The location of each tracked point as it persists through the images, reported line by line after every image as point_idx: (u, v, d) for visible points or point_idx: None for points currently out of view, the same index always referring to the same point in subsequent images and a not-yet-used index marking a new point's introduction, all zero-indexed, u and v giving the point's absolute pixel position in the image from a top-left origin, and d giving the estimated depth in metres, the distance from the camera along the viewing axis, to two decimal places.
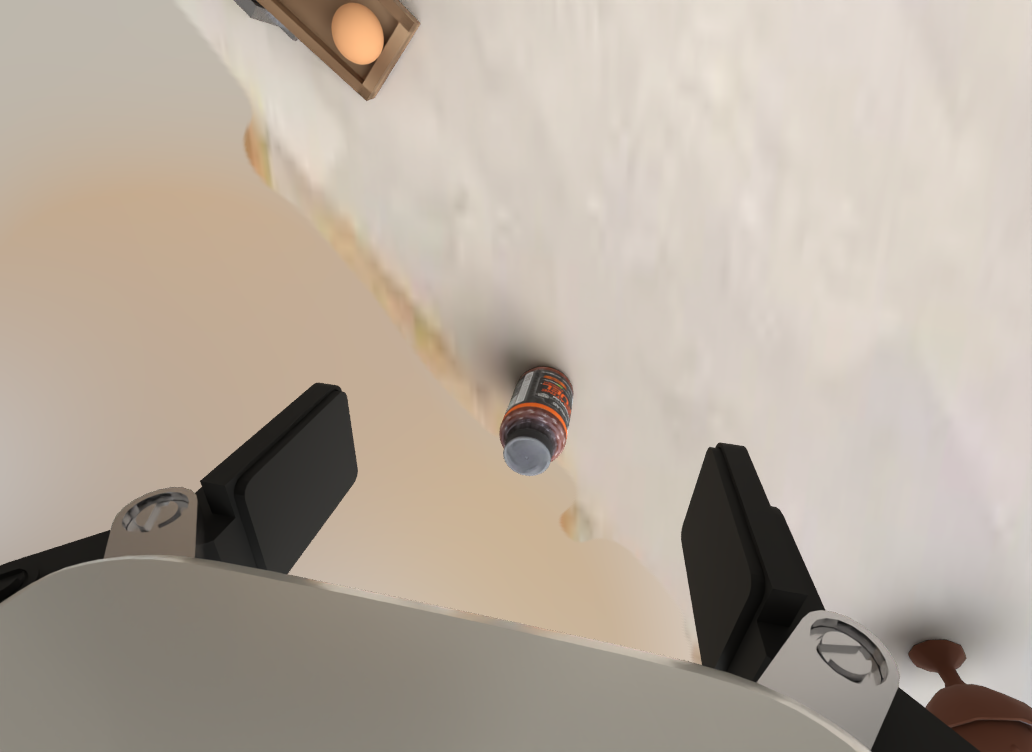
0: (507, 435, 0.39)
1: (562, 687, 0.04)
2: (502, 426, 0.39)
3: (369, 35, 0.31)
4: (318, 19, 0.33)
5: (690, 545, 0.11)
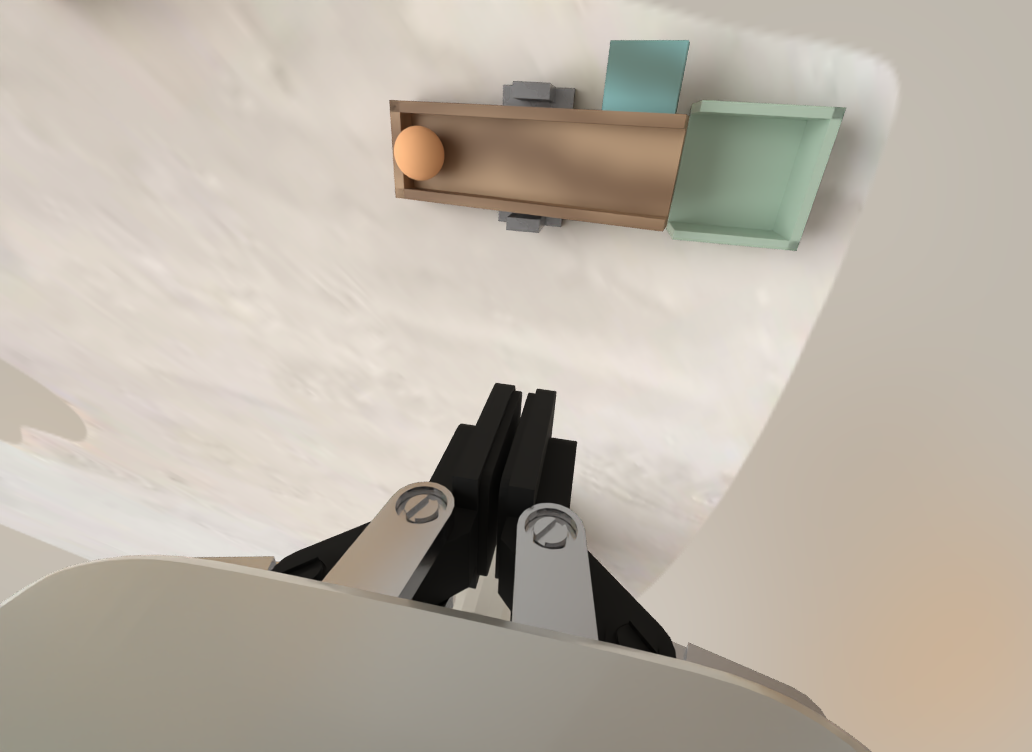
0: None
1: (562, 687, 0.04)
2: None
3: (398, 164, 0.32)
4: (468, 132, 0.32)
5: None
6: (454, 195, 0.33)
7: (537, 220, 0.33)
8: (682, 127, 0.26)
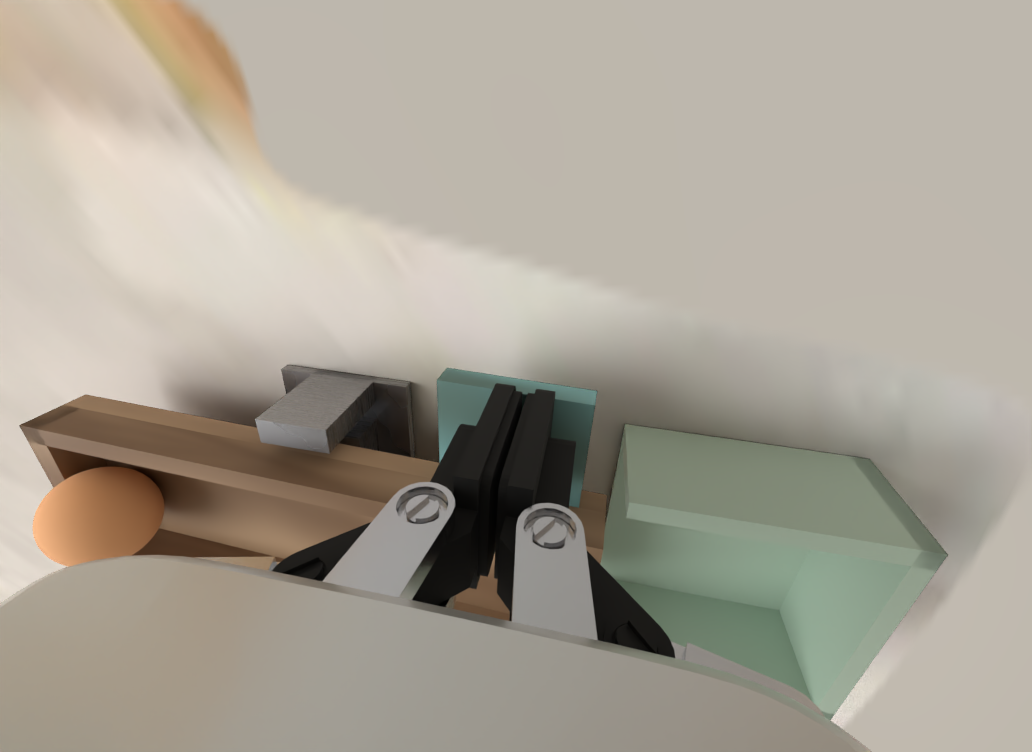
0: None
1: (561, 688, 0.04)
2: None
3: None
4: None
5: None
6: None
7: None
8: None
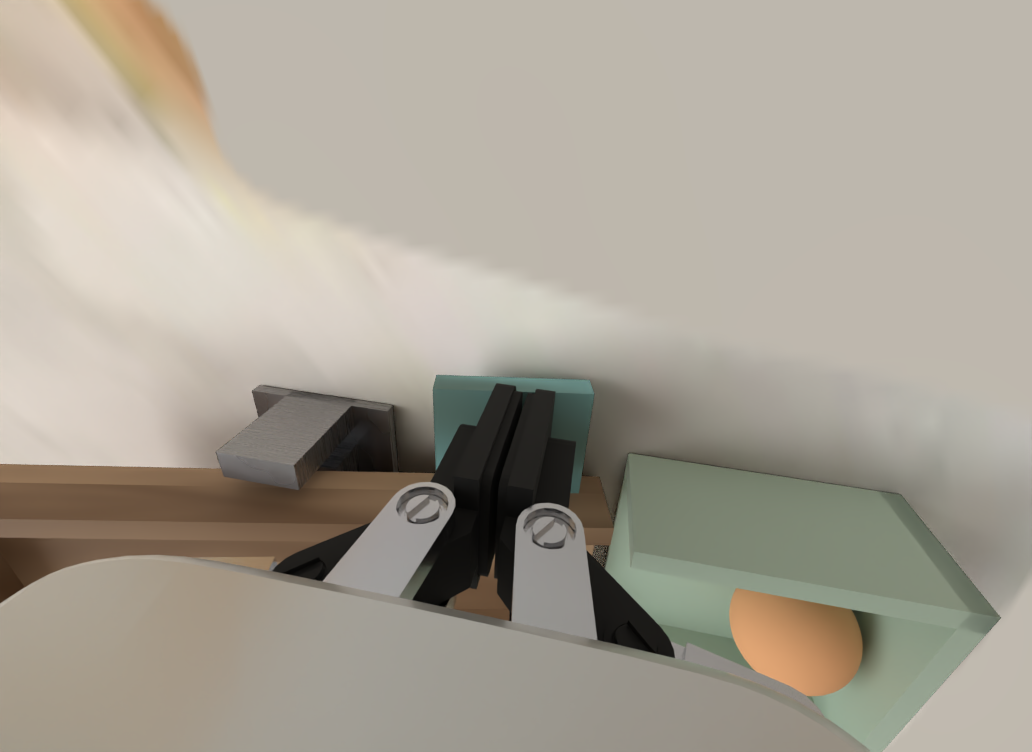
0: None
1: (562, 687, 0.04)
2: None
3: None
4: None
5: None
6: None
7: None
8: (607, 543, 0.13)
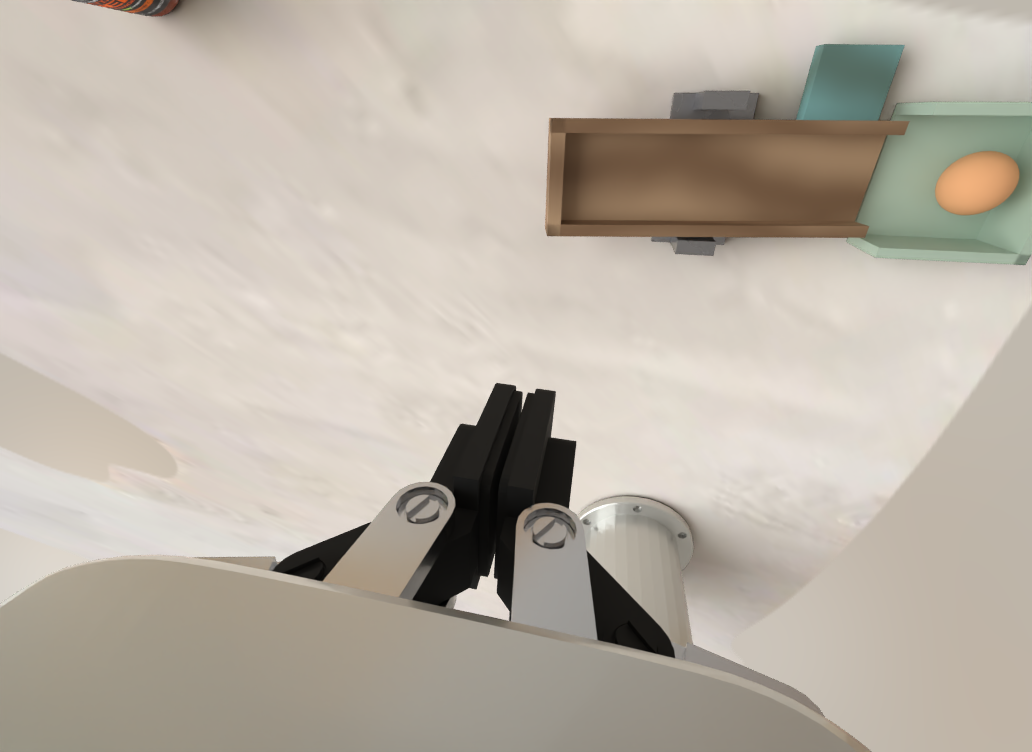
0: None
1: (562, 687, 0.04)
2: None
3: (1001, 201, 0.26)
4: (640, 150, 0.27)
5: None
6: (629, 225, 0.28)
7: (713, 242, 0.30)
8: (902, 134, 0.26)
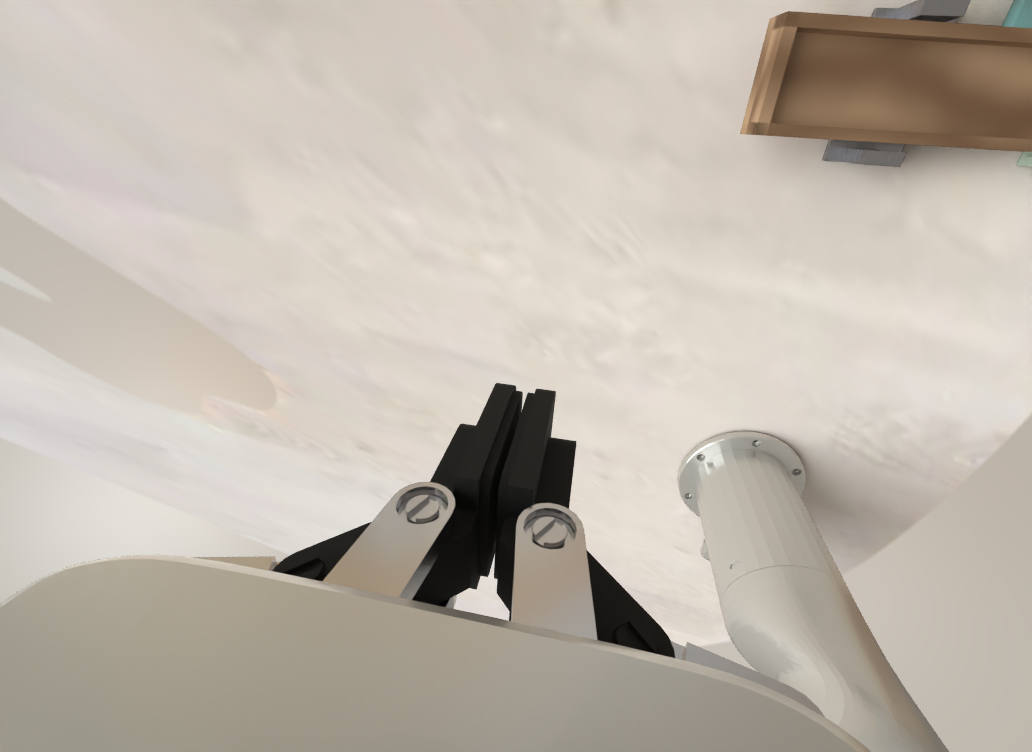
0: None
1: (562, 688, 0.04)
2: None
3: None
4: (853, 54, 0.29)
5: None
6: (834, 128, 0.30)
7: (902, 153, 0.31)
8: None
